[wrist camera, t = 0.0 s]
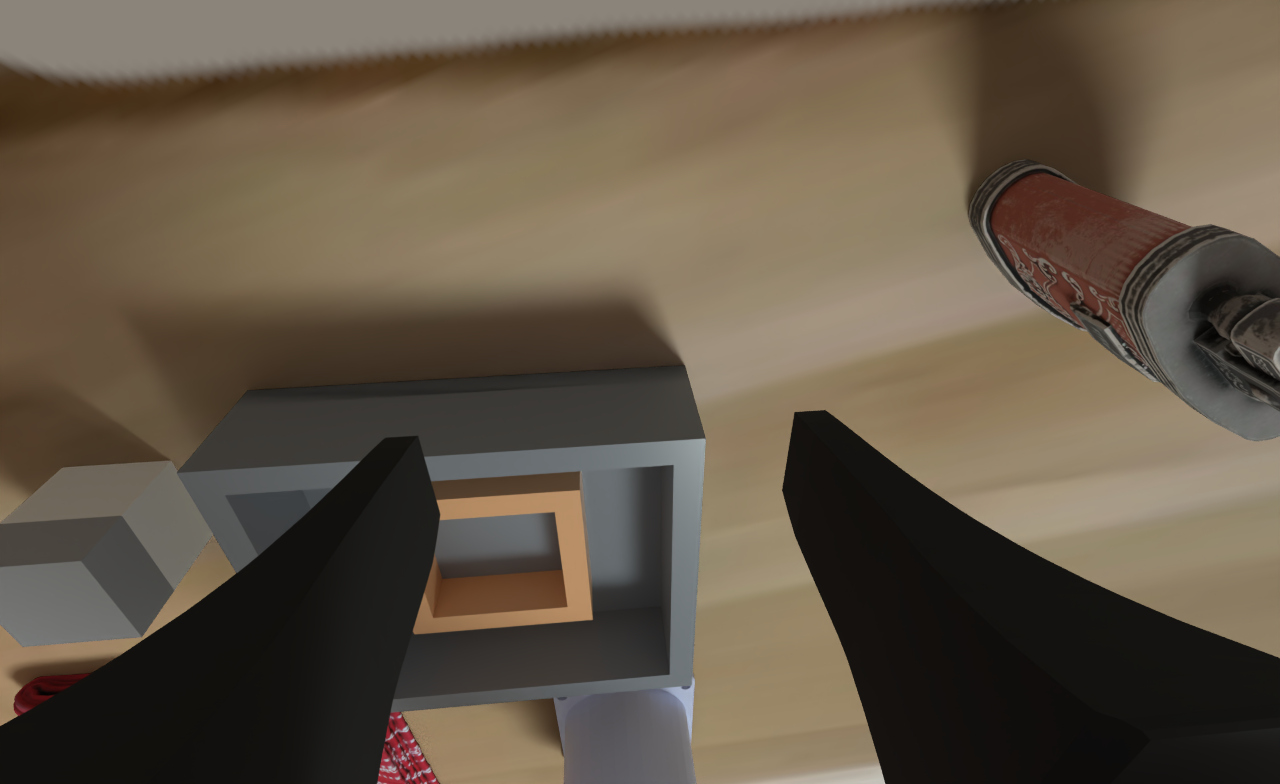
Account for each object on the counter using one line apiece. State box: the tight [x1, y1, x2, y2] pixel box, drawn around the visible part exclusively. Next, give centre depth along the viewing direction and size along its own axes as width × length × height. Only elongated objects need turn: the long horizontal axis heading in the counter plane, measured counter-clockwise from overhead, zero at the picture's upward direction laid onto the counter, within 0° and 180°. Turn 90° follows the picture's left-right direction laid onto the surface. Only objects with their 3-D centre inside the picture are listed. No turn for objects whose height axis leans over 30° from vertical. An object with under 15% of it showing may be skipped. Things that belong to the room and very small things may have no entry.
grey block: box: [0, 461, 213, 647], centre depth 22 cm, size 4×4×5 cm
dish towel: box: [14, 673, 440, 784], centre depth 35 cm, size 17×24×3 cm
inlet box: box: [177, 365, 706, 713], centre depth 24 cm, size 14×16×4 cm
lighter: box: [968, 159, 1280, 441], centre depth 17 cm, size 8×3×10 cm, turn 53°
